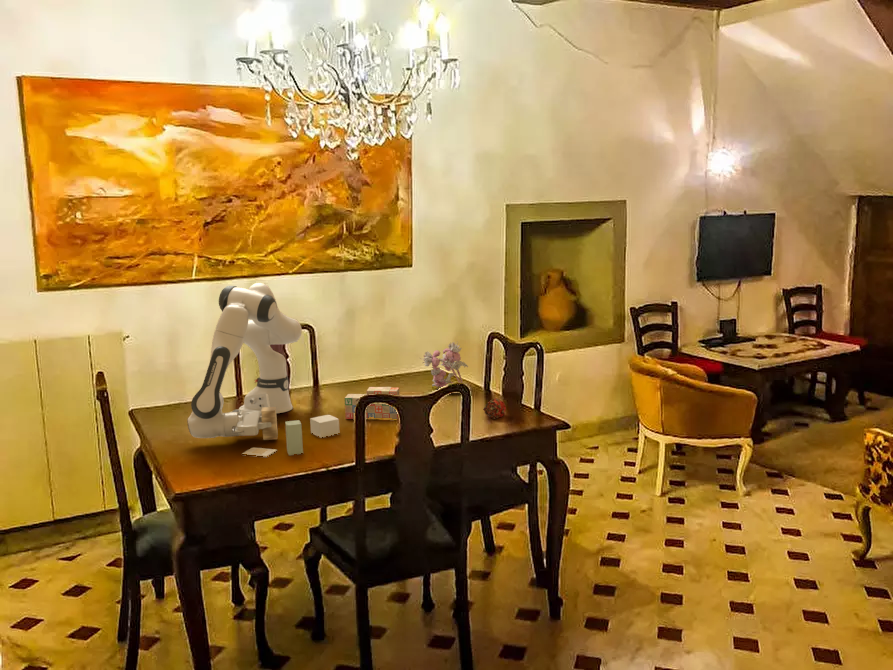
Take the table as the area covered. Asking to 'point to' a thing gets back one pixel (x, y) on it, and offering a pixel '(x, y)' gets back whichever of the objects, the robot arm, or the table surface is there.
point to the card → (260, 452)
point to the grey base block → (324, 425)
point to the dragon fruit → (495, 408)
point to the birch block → (268, 416)
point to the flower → (445, 364)
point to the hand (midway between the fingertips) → (271, 421)
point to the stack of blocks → (373, 409)
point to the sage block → (294, 437)
